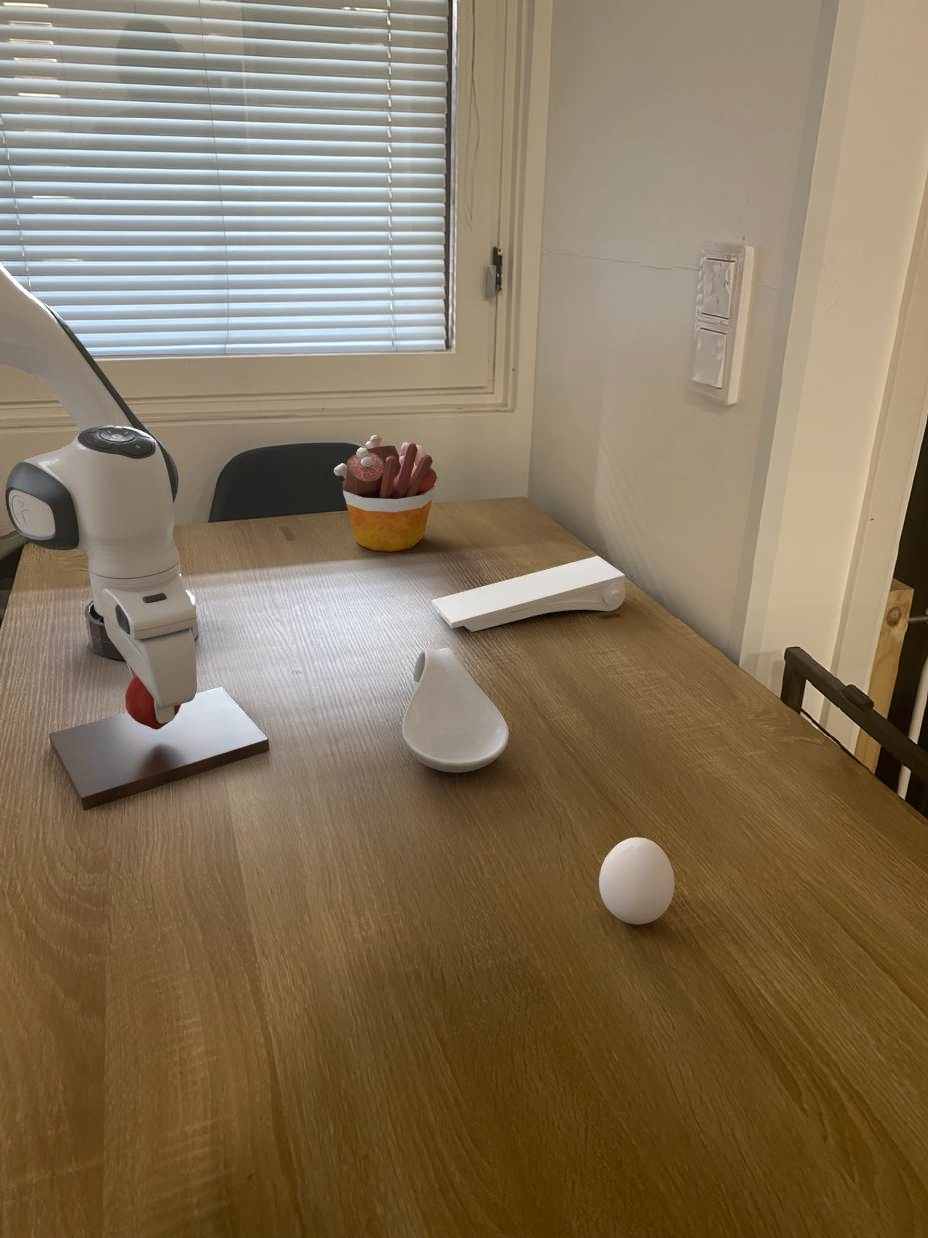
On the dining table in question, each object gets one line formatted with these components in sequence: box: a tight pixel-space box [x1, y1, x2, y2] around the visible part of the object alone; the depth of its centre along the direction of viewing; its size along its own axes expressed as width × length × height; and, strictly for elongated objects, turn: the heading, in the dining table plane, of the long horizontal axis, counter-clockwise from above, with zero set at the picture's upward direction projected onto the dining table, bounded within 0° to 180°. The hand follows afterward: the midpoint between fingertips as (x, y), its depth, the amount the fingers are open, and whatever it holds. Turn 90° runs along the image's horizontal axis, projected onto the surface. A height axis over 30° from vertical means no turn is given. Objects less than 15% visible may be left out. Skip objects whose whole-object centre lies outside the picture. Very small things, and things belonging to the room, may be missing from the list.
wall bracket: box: [431, 555, 627, 633], centre depth 137 cm, size 10×7×28 cm
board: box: [48, 686, 270, 811], centre depth 101 cm, size 20×14×2 cm
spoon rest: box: [401, 647, 510, 774], centre depth 105 cm, size 24×12×7 cm, turn 11°
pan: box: [84, 589, 199, 661], centre depth 125 cm, size 14×14×5 cm
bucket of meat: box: [333, 434, 438, 552], centre depth 158 cm, size 20×16×20 cm
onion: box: [124, 676, 181, 730], centre depth 99 cm, size 6×6×8 cm
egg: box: [598, 836, 675, 926], centre depth 78 cm, size 6×6×8 cm
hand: (154, 704), depth 99 cm, fingers closed on onion, 6 cm apart
